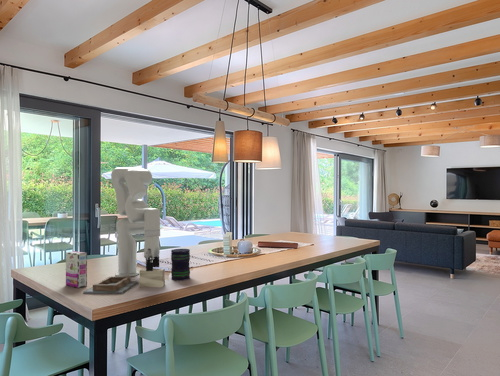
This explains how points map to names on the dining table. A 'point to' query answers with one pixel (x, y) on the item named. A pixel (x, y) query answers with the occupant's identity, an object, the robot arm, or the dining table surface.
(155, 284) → the ash block
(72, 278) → the candy bar box
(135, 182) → the robot arm
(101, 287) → the slot board
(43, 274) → the dining table surface
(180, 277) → the storage jar
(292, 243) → the dining table surface
